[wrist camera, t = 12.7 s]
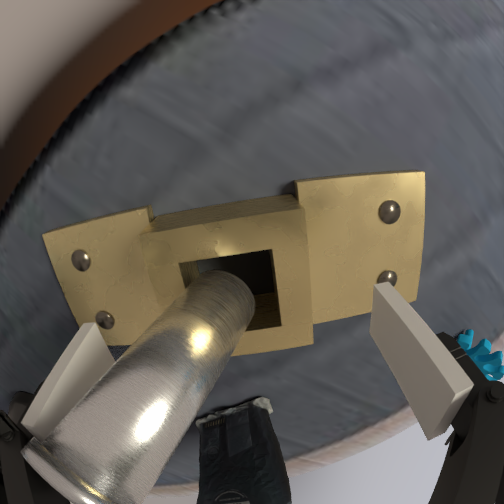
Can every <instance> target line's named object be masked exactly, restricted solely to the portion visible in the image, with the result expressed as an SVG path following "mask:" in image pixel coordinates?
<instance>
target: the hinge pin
mask: <svg viewBox="0 0 504 504" xmlns="http://www.w3.org/2000/svg"><path fill="white" fill-rule="evenodd" d="M254 312H255V300H254V297H253V294H252V292H251V290H250V289H249V288H248V286H247V285H246V284H245V283H244V282H243V281H242V280H241V279H240V278H238V277H237V276H235V275H233V274H231V273H229V272H226V271H222V270H209V271H206V272H203V273H202V274H200V275H199V276H198V277H197V278H196V279H195V280H194V281H193V282H192V283H191V284H190V285H189V286H188V287H187V288H186V289H185V290H184V291H183V292H182V293H181V294H180V295H179V296H178V297H177V298H176V299H175V300H174V301H173V302H172V303H171V304H170V306H169V307H168V308H167V309H166V310H165V311H164V312H163V313H162V314H161V315H160V316H159V317H158V318H157V319H156V320H155V321H154V322H153V323H152V324H151V325H150V326H149V327H148V328H147V329H146V330H145V331H144V332H143V333H142V334H141V335H140V337H139V338H138V339H137V340H136V341H135V342H134V343H133V344H132V345H131V346H130V347H129V348H128V349H127V350H126V351H125V352H124V353H123V354H122V355H121V356H120V358H119V359H118V360H117V361H116V362H115V363H114V364H113V365H112V366H111V367H110V368H109V369H108V370H107V371H106V372H105V373H104V375H103V376H102V377H101V378H100V379H99V380H98V381H97V382H96V383H95V384H94V385H93V386H92V387H91V389H90V390H89V391H88V392H87V393H86V394H85V395H84V396H83V397H82V398H81V399H80V400H79V402H78V403H77V404H76V405H75V406H74V407H73V408H72V409H71V410H70V411H69V413H68V414H67V415H66V416H65V417H64V418H63V419H62V420H61V421H60V422H59V424H58V425H57V426H56V427H55V428H54V429H53V430H52V431H51V433H50V434H49V435H48V436H47V437H46V438H45V439H44V440H43V442H42V443H40V442H39V441H38V440H37V439H36V438H35V437H33V438H32V439H31V440H30V441H29V442H28V443H27V445H26V446H25V447H24V448H23V449H22V450H21V454H22V455H23V457H24V458H25V459H26V461H27V462H28V463H29V464H30V465H31V466H32V467H33V468H34V470H35V471H36V472H37V473H38V474H39V475H40V476H41V477H42V478H43V479H44V480H46V481H47V482H48V483H49V484H50V485H51V486H52V487H53V488H54V489H56V490H57V491H58V492H59V493H60V494H62V495H63V496H64V497H65V498H67V499H68V500H69V501H71V502H72V503H74V504H142V502H143V501H144V499H145V498H146V496H147V495H148V493H149V492H150V490H151V489H152V487H153V485H154V484H155V482H156V481H157V479H158V478H159V476H160V474H161V473H162V471H163V470H164V468H165V466H166V465H167V463H168V462H169V460H170V458H171V457H172V455H173V454H174V452H175V450H176V449H177V447H178V445H179V444H180V442H181V441H182V439H183V437H184V436H185V434H186V432H187V431H188V429H189V427H190V426H191V424H192V422H193V421H194V419H195V417H196V416H197V414H198V412H199V411H200V409H201V407H202V405H203V404H204V402H205V400H206V399H207V397H208V395H209V393H210V392H211V390H212V388H213V387H214V385H215V383H216V381H217V380H218V378H219V376H220V374H221V373H222V371H223V369H224V367H225V366H226V364H227V362H228V360H229V359H230V357H231V355H232V353H233V351H234V350H235V348H236V346H237V344H238V342H239V341H240V339H241V337H242V335H243V333H244V332H245V330H246V328H247V326H248V324H249V323H250V321H251V319H252V317H253V315H254Z"/></svg>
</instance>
